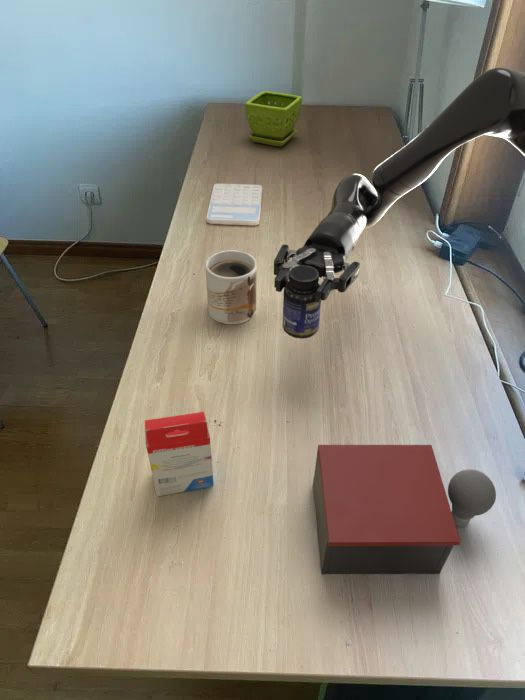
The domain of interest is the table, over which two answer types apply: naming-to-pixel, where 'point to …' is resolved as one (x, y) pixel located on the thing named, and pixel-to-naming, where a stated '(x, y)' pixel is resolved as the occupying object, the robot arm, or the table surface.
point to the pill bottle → (301, 302)
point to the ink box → (179, 453)
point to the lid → (384, 496)
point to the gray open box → (372, 550)
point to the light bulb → (470, 495)
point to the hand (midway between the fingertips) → (298, 292)
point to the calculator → (235, 204)
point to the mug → (231, 286)
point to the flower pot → (272, 117)
